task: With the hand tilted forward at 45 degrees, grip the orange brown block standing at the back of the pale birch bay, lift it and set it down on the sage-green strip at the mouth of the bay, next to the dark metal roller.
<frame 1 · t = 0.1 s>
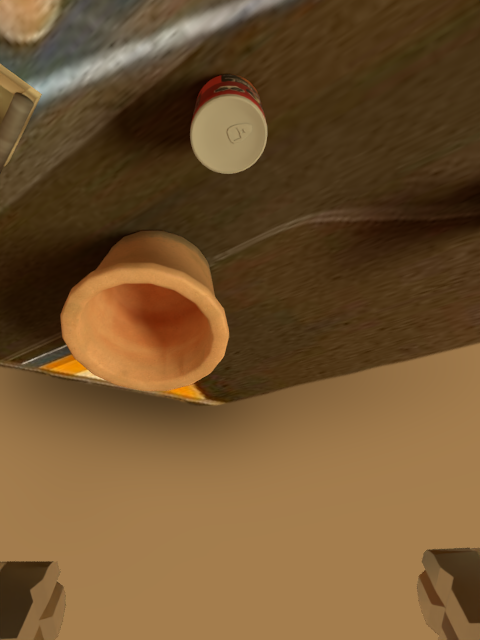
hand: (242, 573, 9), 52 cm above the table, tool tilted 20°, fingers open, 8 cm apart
pottery: (158, 275, 67), on the table
canned food: (228, 108, 51), on the table
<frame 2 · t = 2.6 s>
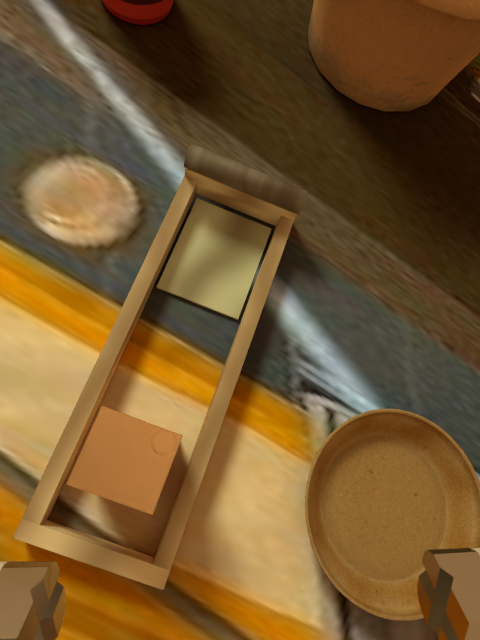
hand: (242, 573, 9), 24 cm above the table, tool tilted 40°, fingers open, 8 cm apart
orange brown block: (135, 455, 32), resting in bay
pottery: (376, 54, 48), on the table
plant saucer: (380, 502, 35), on the table
bay: (179, 346, 35), on the table
canned food: (136, 0, 44), on the table
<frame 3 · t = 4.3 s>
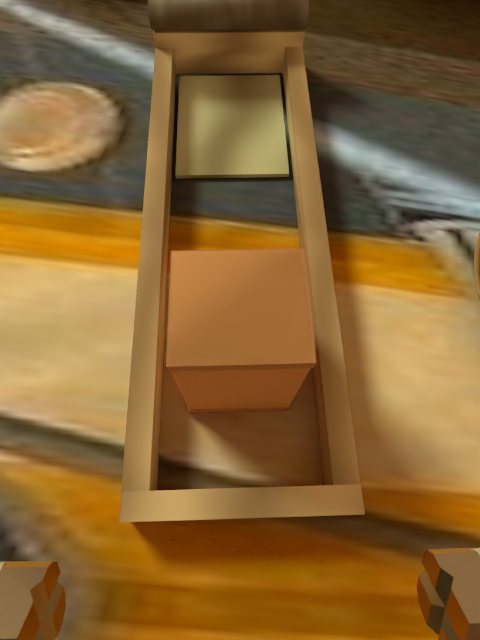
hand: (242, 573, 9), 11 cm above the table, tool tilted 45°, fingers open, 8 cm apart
orange brown block: (237, 368, 23), resting in bay
bay: (233, 228, 26), on the table
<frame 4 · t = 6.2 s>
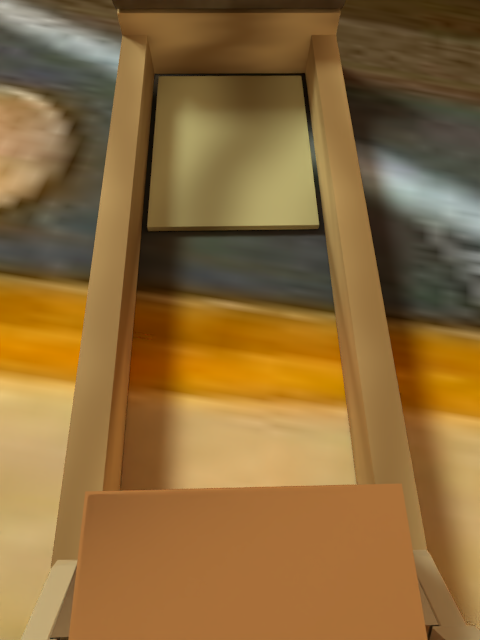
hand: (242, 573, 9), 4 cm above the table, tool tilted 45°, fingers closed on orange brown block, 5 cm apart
orange brown block: (240, 575, 13), resting in bay, touching gripper
bay: (235, 313, 17), on the table
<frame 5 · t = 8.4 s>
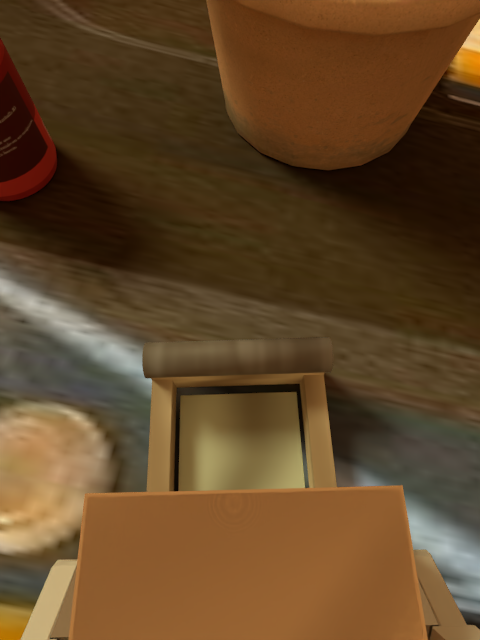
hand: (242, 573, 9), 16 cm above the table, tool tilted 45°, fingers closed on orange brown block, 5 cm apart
orange brown block: (241, 576, 13), point 12 cm above the table, touching gripper
pottery: (317, 102, 38), on the table
canned food: (13, 168, 35), on the table
when the fingers open (6 cm above the table, at t = 11.1 s): orange brown block drops 1 cm, resting on bay.
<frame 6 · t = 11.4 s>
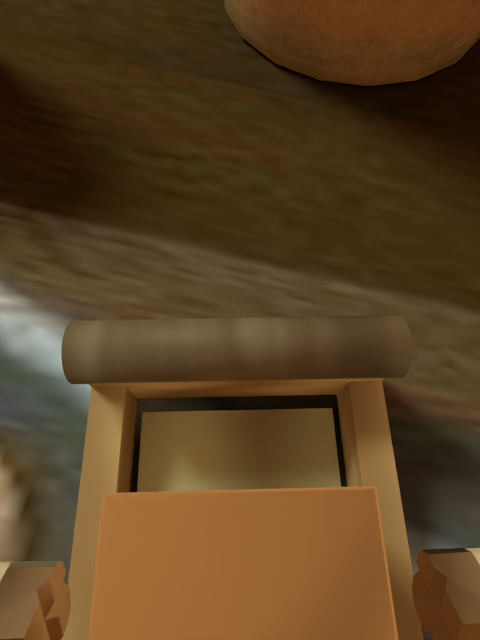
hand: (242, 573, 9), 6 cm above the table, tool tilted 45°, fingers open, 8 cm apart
orange brown block: (238, 569, 14), resting on bay
pottery: (350, 3, 28), on the table
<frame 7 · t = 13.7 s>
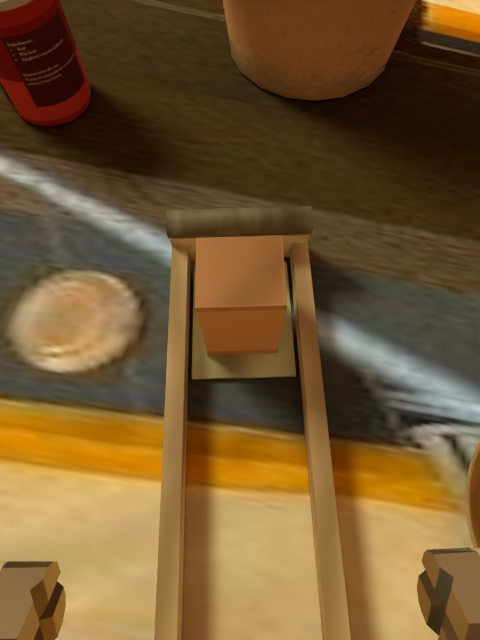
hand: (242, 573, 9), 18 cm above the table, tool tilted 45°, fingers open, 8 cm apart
orange brown block: (241, 325, 31), resting on bay
pottery: (308, 49, 45), on the table
bay: (245, 435, 28), on the table
canned food: (54, 102, 42), on the table
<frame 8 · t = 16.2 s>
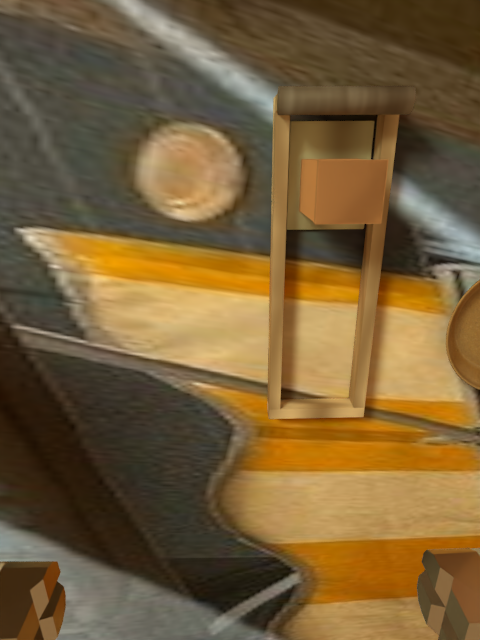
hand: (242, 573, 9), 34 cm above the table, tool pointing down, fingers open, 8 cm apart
orange brown block: (327, 185, 39), resting on bay
bay: (322, 269, 42), on the table
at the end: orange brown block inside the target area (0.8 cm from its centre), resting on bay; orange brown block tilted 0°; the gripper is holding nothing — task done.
